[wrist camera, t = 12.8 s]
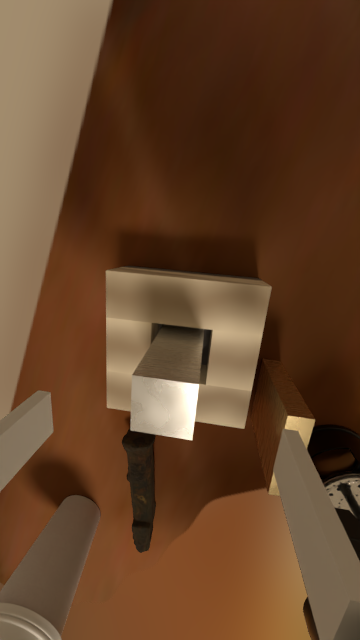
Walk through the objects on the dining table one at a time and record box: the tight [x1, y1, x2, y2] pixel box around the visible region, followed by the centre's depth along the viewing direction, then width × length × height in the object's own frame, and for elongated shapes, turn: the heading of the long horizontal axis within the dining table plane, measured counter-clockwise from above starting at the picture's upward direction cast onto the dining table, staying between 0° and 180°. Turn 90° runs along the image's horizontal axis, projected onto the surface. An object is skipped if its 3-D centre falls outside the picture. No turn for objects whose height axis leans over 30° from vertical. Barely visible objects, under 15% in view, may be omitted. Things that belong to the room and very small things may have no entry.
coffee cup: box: [0, 495, 100, 640], centre depth 32 cm, size 10×10×15 cm
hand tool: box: [122, 429, 156, 553], centre depth 34 cm, size 19×4×5 cm, turn 178°
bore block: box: [106, 266, 272, 429], centre depth 25 cm, size 14×14×6 cm
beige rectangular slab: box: [251, 359, 315, 496], centre depth 24 cm, size 8×2×10 cm, turn 175°
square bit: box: [130, 324, 204, 440], centre depth 21 cm, size 4×4×12 cm
